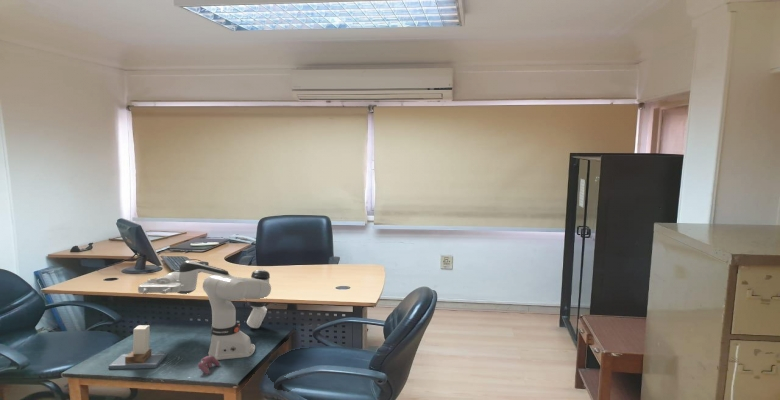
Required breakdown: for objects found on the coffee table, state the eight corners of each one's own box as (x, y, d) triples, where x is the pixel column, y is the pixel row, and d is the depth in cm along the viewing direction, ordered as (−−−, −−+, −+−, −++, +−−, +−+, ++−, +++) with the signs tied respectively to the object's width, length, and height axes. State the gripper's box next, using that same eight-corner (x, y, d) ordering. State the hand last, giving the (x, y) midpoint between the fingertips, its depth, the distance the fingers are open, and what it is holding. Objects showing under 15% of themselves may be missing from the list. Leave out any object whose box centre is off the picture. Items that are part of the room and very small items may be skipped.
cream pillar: (149, 349, 197) (149, 325, 196) (144, 353, 192) (144, 329, 191) (138, 349, 196) (138, 325, 195) (133, 354, 191) (133, 329, 190)
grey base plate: (166, 356, 200) (166, 347, 199) (155, 367, 188) (155, 358, 188) (122, 357, 197) (122, 348, 197) (108, 368, 185) (108, 359, 185)
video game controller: (213, 367, 194) (207, 354, 194) (221, 364, 193) (215, 350, 193) (200, 377, 184) (194, 363, 184) (209, 374, 183) (202, 360, 183)
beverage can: (252, 330, 235) (260, 312, 234) (243, 321, 239) (251, 304, 237) (262, 327, 242) (270, 310, 241) (253, 319, 246) (261, 302, 244)
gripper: (185, 290, 223) (175, 298, 209) (145, 290, 220) (132, 298, 206) (185, 279, 222) (175, 286, 208) (145, 279, 219) (132, 286, 206)
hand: (154, 292), depth 207 cm, fingers open, 8 cm apart
